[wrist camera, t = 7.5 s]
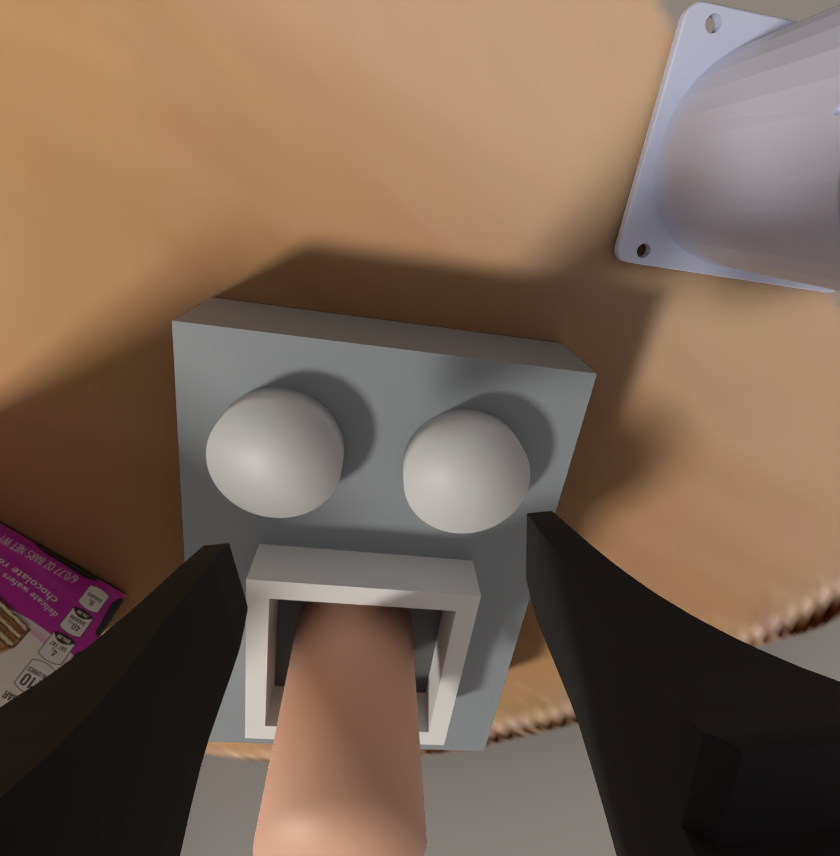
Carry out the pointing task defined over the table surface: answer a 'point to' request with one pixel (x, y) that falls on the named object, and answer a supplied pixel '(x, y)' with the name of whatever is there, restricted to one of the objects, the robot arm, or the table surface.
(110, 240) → the table surface
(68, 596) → the candy bar box
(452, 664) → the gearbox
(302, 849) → the peach tapered capsule
